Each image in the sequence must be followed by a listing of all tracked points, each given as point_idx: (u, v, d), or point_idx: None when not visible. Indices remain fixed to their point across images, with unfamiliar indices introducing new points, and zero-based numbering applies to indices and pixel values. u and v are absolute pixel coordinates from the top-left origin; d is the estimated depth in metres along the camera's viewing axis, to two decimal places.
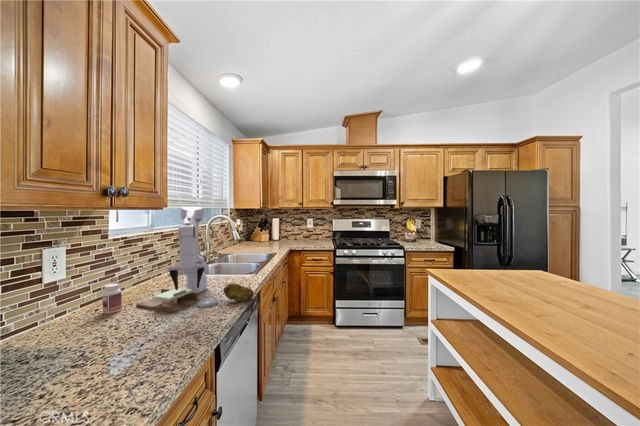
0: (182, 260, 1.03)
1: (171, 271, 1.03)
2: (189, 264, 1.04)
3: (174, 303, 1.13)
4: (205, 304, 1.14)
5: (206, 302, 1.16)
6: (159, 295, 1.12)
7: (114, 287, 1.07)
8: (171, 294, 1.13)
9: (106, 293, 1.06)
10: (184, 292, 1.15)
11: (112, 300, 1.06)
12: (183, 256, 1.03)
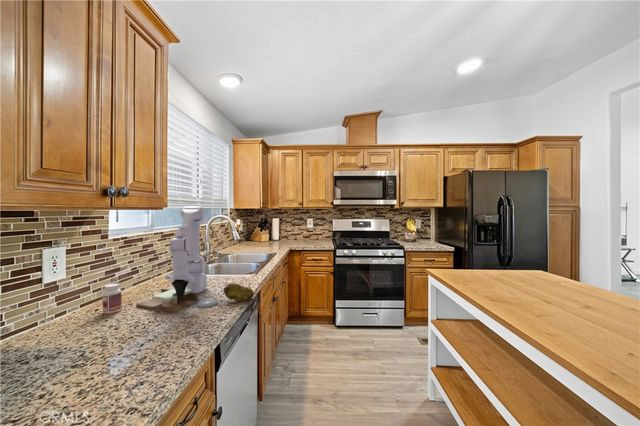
0: None
1: None
2: (176, 276, 1.09)
3: (174, 303, 1.13)
4: (205, 304, 1.14)
5: (206, 302, 1.16)
6: (158, 295, 1.12)
7: (114, 287, 1.07)
8: (170, 294, 1.13)
9: (106, 293, 1.06)
10: None
11: (112, 300, 1.06)
12: (173, 268, 1.10)
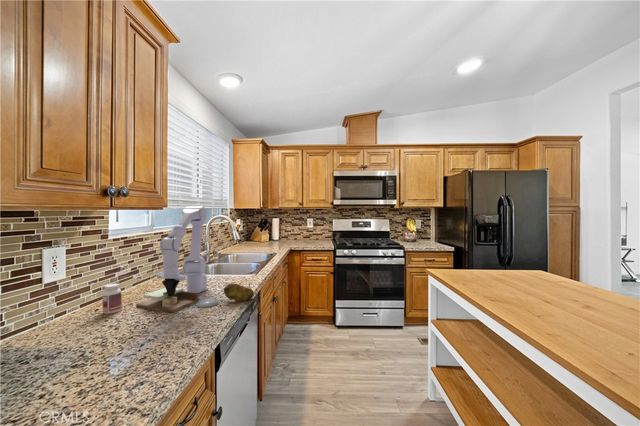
0: (163, 270, 1.12)
1: None
2: (167, 275, 1.11)
3: (174, 303, 1.13)
4: (205, 304, 1.14)
5: (206, 302, 1.16)
6: (149, 294, 1.13)
7: (114, 287, 1.07)
8: (161, 293, 1.15)
9: (106, 293, 1.06)
10: None
11: (112, 300, 1.06)
12: (163, 267, 1.12)
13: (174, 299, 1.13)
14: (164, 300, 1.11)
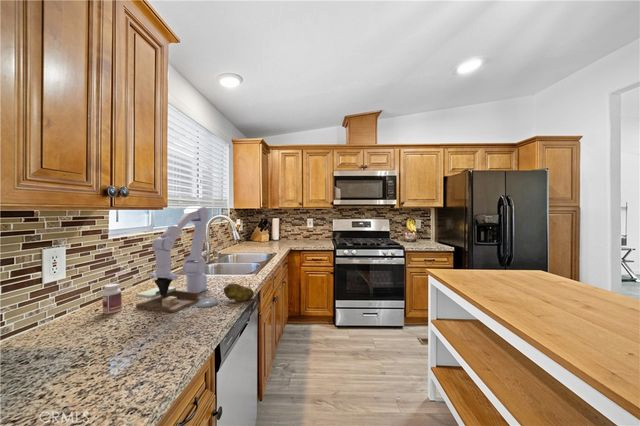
0: None
1: None
2: (159, 274, 1.12)
3: (174, 303, 1.13)
4: (205, 304, 1.14)
5: (206, 302, 1.16)
6: (142, 293, 1.15)
7: (114, 287, 1.07)
8: (154, 292, 1.16)
9: (106, 293, 1.06)
10: None
11: (112, 300, 1.06)
12: (156, 266, 1.13)
13: (174, 299, 1.13)
14: (164, 300, 1.11)
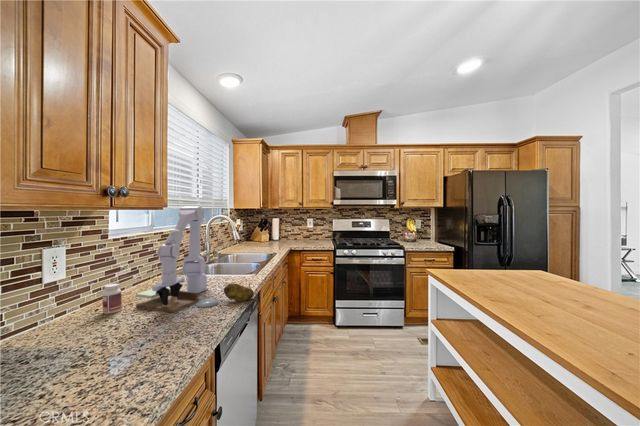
0: None
1: None
2: None
3: (174, 303, 1.13)
4: (205, 304, 1.14)
5: (206, 302, 1.16)
6: (142, 293, 1.15)
7: (114, 287, 1.07)
8: (154, 292, 1.16)
9: (106, 293, 1.06)
10: None
11: (112, 300, 1.06)
12: None
13: (174, 299, 1.13)
14: None
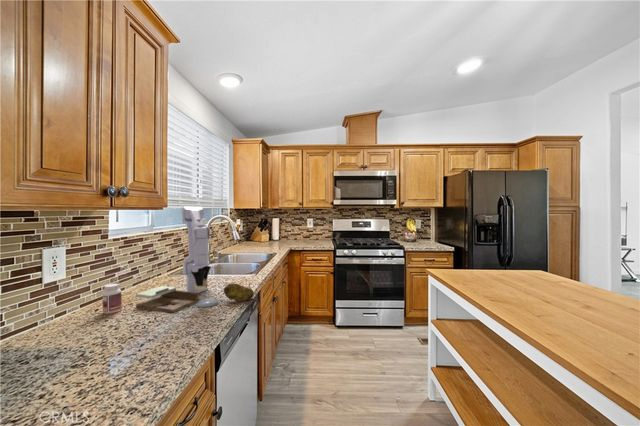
0: None
1: None
2: (194, 263, 1.15)
3: (206, 284, 1.17)
4: (205, 304, 1.14)
5: (206, 302, 1.16)
6: (142, 293, 1.15)
7: (114, 287, 1.07)
8: (154, 292, 1.16)
9: (106, 293, 1.06)
10: (167, 290, 1.18)
11: (112, 300, 1.06)
12: None
13: (206, 280, 1.17)
14: None
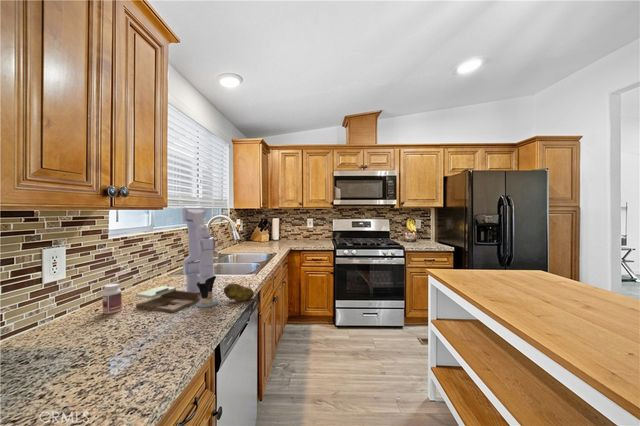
0: None
1: None
2: (199, 274, 1.15)
3: (211, 297, 1.17)
4: (205, 304, 1.14)
5: None
6: (142, 293, 1.15)
7: (114, 287, 1.07)
8: (154, 292, 1.16)
9: (106, 293, 1.06)
10: (167, 290, 1.18)
11: (112, 300, 1.06)
12: None
13: (211, 293, 1.17)
14: None
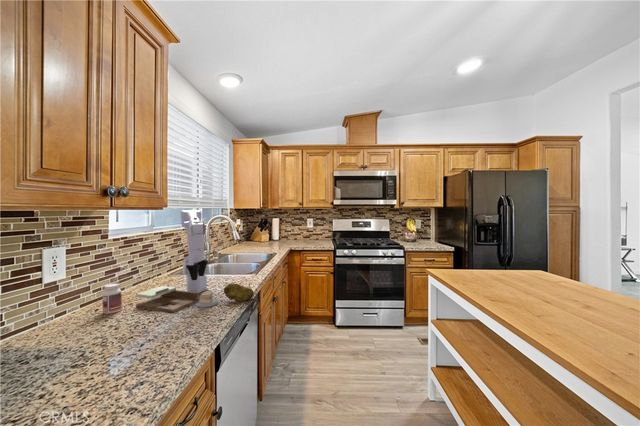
0: None
1: None
2: (190, 257, 1.20)
3: (211, 297, 1.17)
4: (205, 304, 1.14)
5: None
6: (142, 293, 1.15)
7: (114, 287, 1.07)
8: (154, 292, 1.16)
9: (106, 293, 1.06)
10: (167, 290, 1.18)
11: (112, 300, 1.06)
12: None
13: (211, 293, 1.17)
14: (203, 295, 1.14)
